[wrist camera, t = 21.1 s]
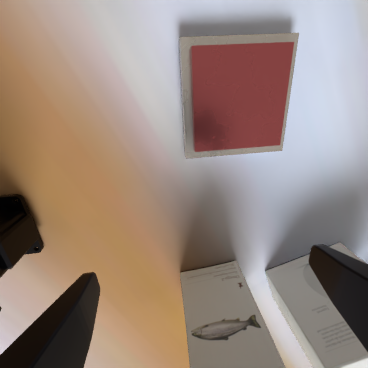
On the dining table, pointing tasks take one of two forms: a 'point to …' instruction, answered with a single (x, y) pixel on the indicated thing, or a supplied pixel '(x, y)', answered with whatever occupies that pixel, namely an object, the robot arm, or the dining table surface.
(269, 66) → the ink pad
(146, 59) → the dining table surface
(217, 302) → the supplement box
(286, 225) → the dining table surface
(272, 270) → the skincare box
